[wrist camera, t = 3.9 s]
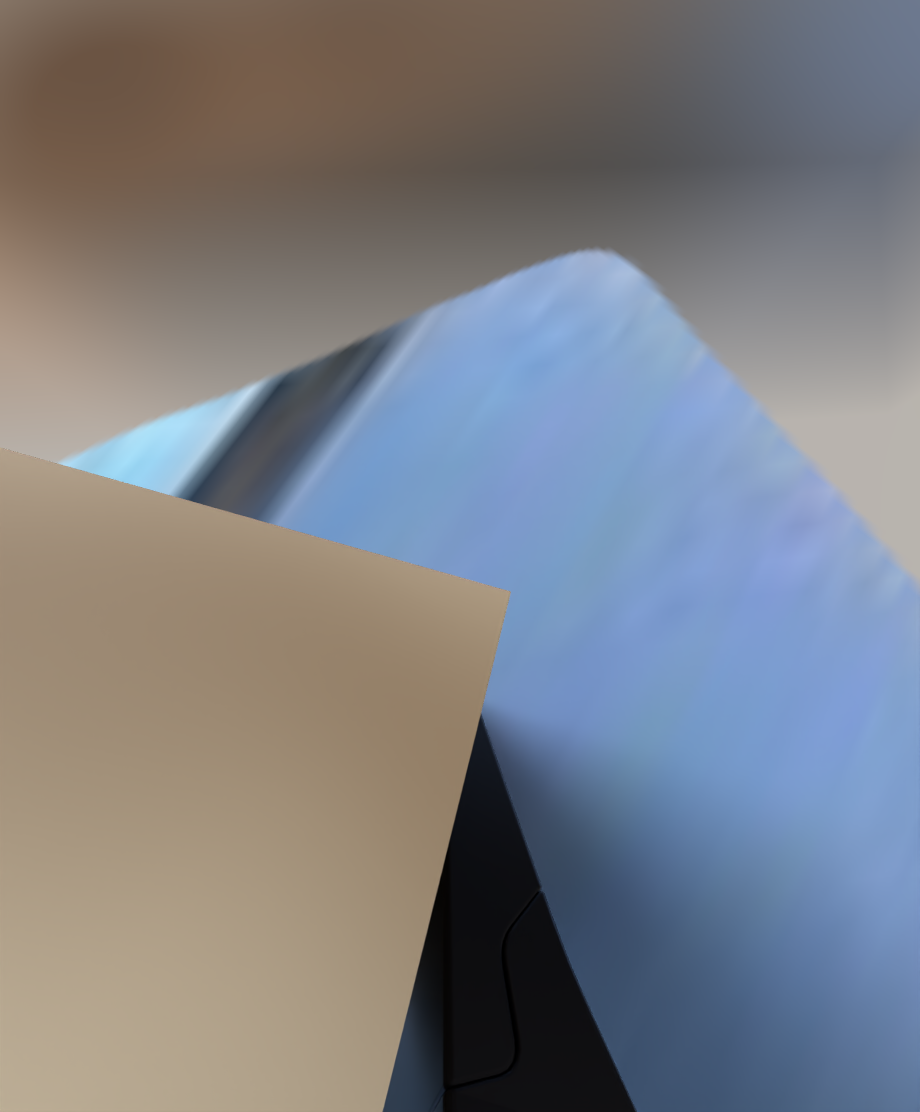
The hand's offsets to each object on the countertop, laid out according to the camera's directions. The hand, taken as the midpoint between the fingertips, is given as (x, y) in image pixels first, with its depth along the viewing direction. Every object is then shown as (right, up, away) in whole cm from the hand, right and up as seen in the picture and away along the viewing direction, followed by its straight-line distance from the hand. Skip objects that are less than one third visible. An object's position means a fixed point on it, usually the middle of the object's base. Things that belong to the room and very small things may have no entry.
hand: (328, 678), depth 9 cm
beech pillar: (-1, -3, +6) cm, 7 cm away
